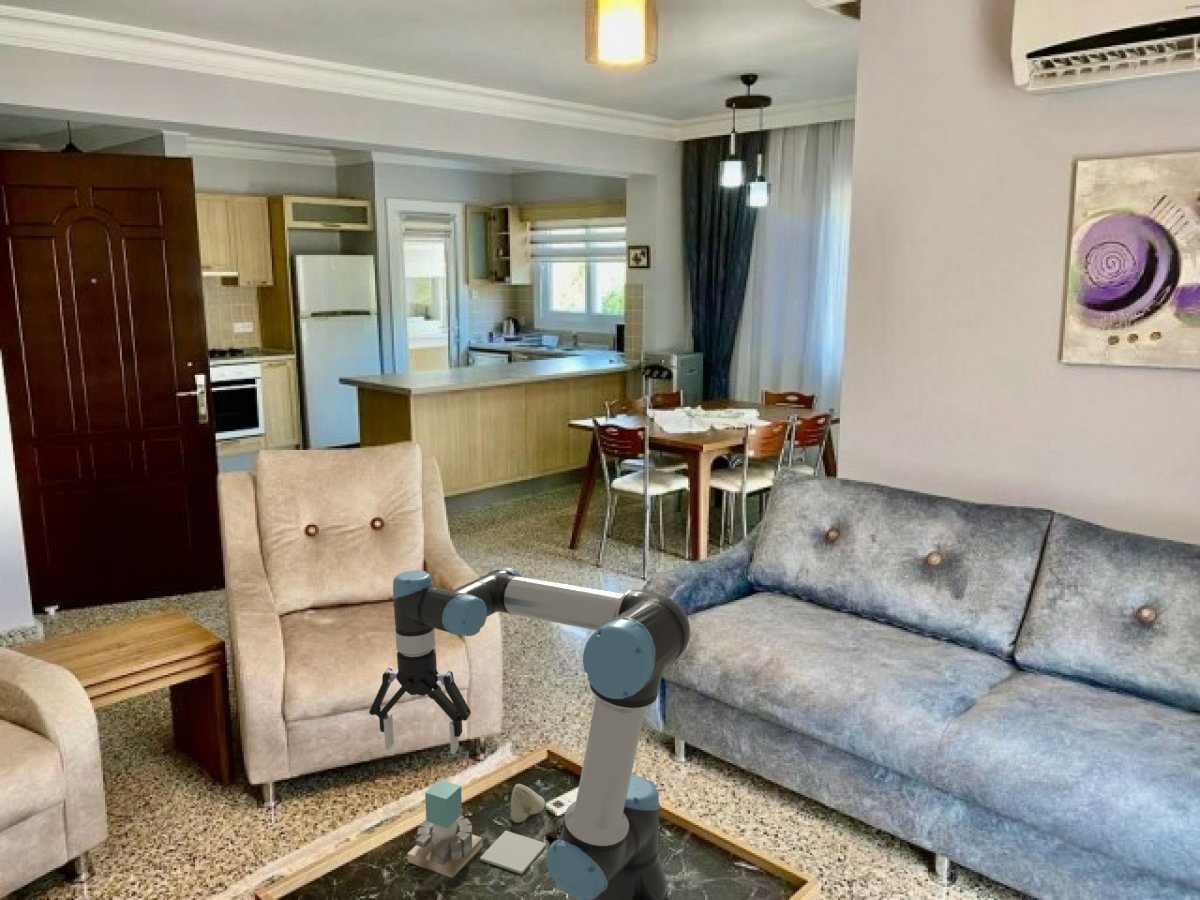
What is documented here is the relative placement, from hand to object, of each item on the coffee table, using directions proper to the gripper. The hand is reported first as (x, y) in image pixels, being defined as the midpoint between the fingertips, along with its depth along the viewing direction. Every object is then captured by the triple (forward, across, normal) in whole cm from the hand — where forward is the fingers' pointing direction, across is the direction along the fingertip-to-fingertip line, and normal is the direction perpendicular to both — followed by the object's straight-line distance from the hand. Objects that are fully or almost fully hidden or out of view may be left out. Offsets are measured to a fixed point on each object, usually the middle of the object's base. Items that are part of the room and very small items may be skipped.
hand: (422, 748), depth 184 cm
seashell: (+25, -17, -18) cm, 35 cm away
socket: (+25, -3, -2) cm, 25 cm away
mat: (+25, -17, -4) cm, 31 cm away
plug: (+23, -3, -2) cm, 23 cm away
